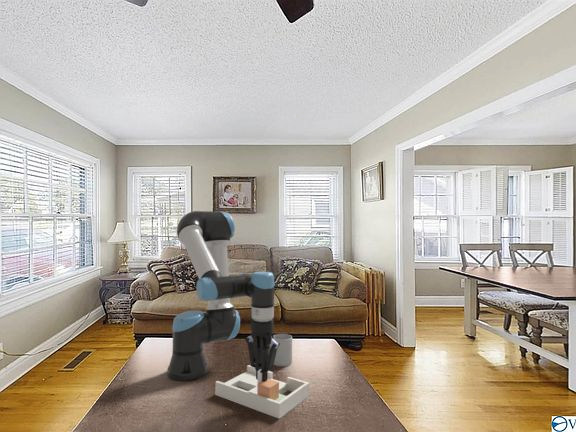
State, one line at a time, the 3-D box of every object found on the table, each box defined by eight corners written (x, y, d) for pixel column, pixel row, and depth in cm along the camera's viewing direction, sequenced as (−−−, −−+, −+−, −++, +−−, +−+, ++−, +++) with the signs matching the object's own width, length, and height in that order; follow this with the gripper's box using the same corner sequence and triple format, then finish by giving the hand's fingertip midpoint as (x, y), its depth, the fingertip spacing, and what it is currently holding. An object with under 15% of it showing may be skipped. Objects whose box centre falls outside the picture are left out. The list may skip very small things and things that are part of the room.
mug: (288, 367, 152) (289, 340, 152) (269, 365, 154) (269, 338, 154) (296, 357, 163) (296, 332, 163) (278, 355, 166) (278, 330, 166)
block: (257, 399, 119) (257, 383, 119) (266, 393, 123) (266, 378, 123) (269, 403, 116) (269, 387, 117) (278, 397, 121) (279, 382, 121)
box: (215, 394, 127) (215, 381, 127) (248, 376, 142) (248, 365, 142) (279, 418, 112) (279, 403, 112) (309, 395, 127) (309, 382, 127)
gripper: (240, 318, 123) (239, 389, 123) (271, 324, 116) (270, 399, 116) (254, 313, 129) (253, 381, 129) (284, 319, 122) (284, 390, 122)
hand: (261, 390), depth 122 cm, fingers closed
